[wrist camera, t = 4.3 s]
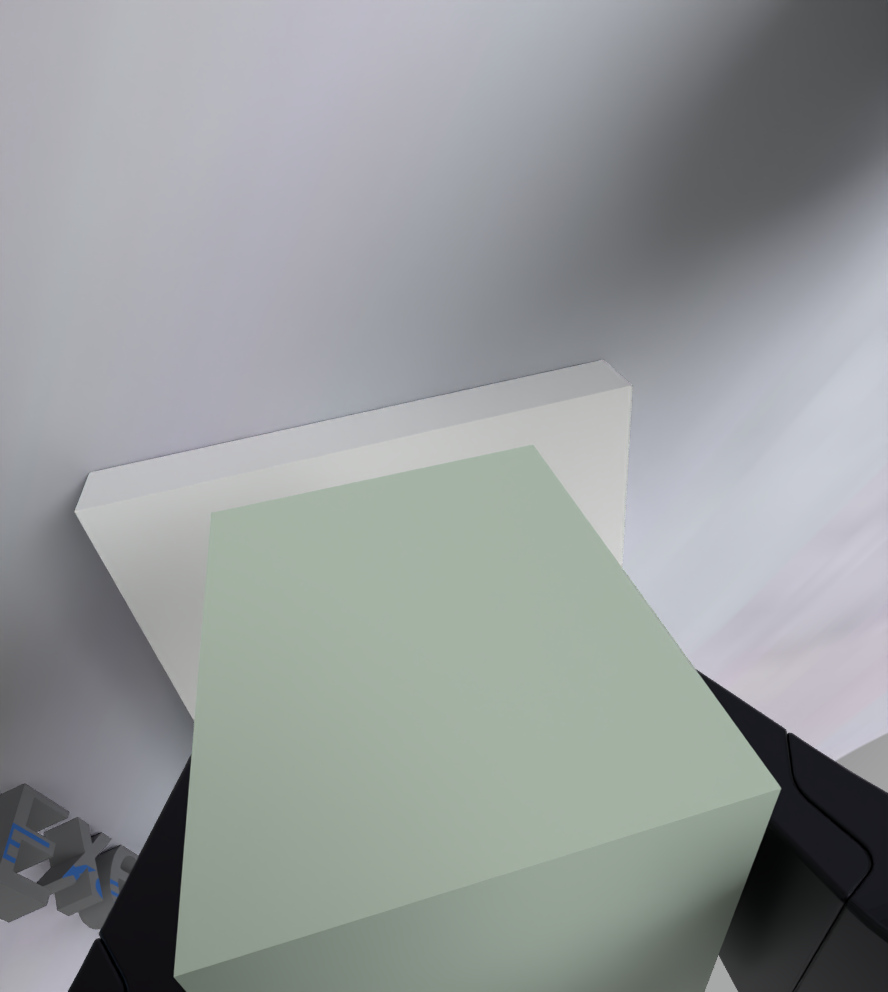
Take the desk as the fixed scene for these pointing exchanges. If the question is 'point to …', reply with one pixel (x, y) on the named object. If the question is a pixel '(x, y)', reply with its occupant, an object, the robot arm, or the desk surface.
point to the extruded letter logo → (56, 860)
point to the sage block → (452, 752)
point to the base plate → (343, 483)
